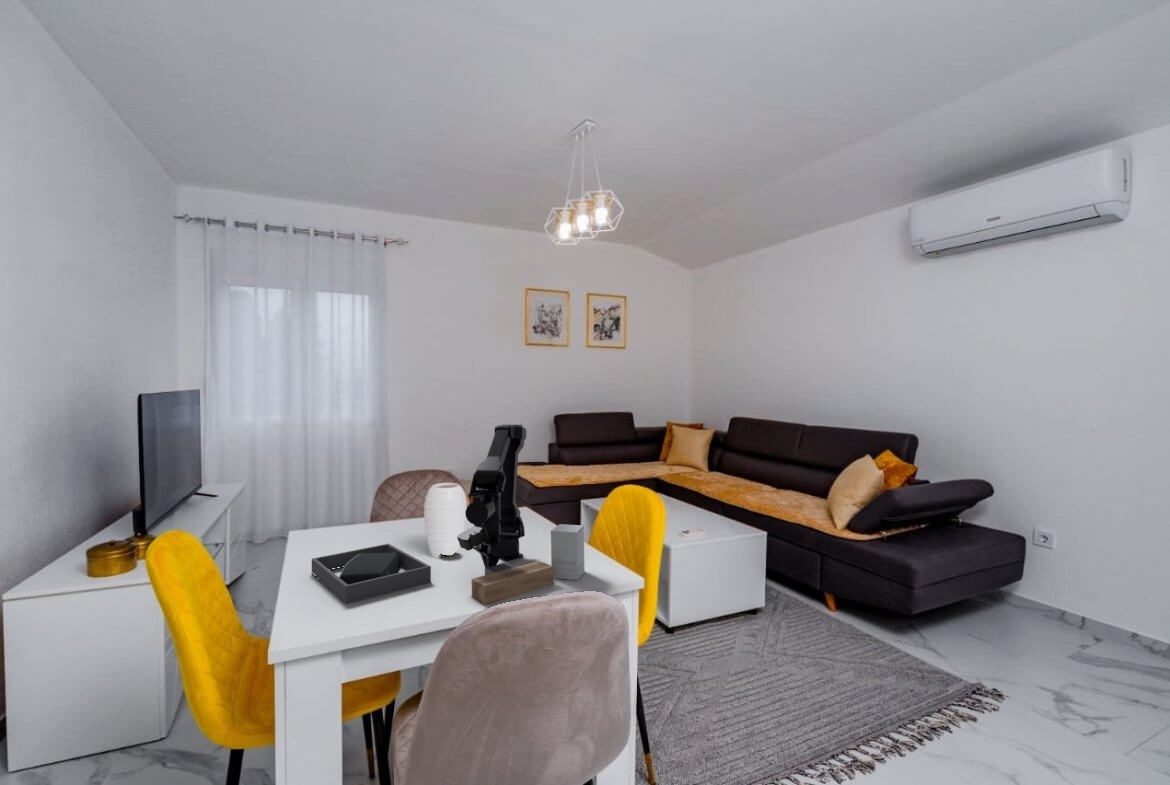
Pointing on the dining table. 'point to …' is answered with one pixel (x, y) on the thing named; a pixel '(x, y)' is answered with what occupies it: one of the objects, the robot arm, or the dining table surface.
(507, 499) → the robot arm
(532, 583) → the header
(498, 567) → the box
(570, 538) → the supplement box
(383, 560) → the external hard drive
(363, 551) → the bumper frame
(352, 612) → the dining table surface
